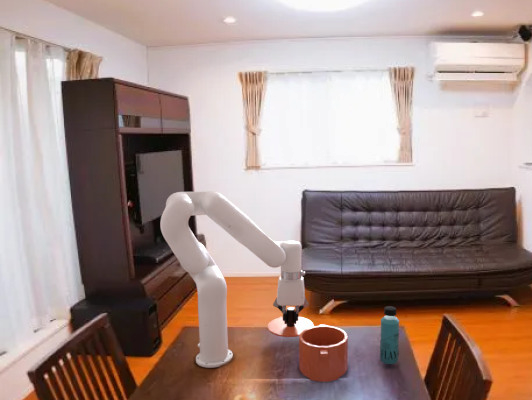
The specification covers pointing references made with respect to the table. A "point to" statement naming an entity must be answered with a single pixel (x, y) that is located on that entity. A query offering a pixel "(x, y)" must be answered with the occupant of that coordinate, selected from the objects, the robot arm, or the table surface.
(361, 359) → the table surface
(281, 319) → the lid
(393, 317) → the beverage bottle
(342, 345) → the dutch oven
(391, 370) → the table surface
